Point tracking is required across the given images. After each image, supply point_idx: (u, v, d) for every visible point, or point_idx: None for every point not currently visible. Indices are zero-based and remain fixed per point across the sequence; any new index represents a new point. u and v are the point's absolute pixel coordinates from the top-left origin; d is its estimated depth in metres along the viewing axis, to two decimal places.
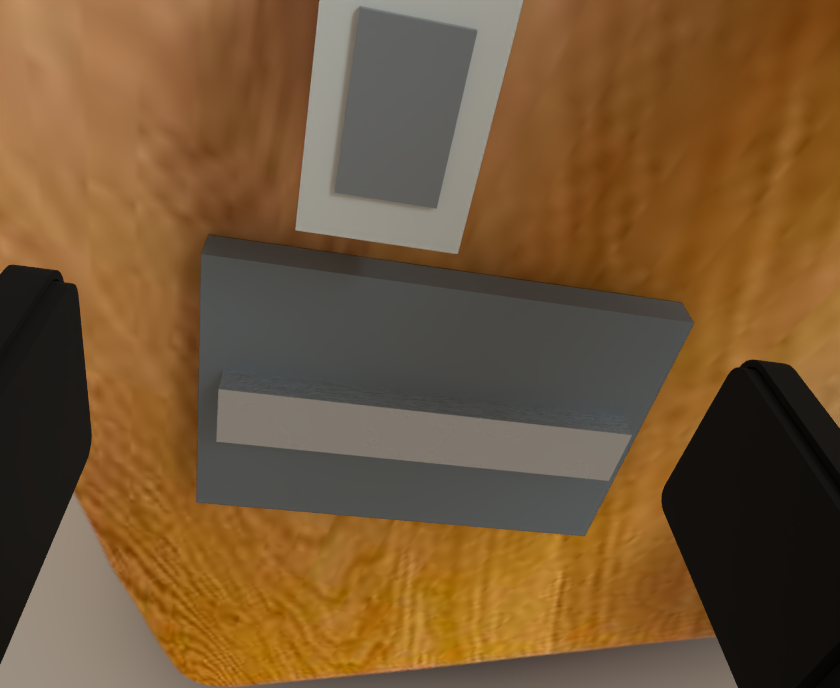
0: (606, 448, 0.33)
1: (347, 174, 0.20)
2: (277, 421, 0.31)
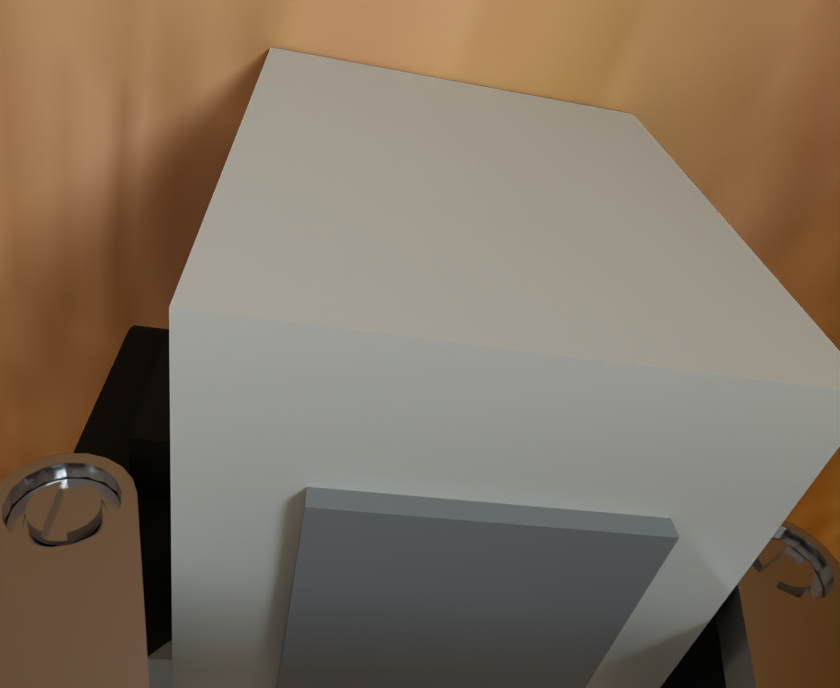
0: None
1: None
2: None
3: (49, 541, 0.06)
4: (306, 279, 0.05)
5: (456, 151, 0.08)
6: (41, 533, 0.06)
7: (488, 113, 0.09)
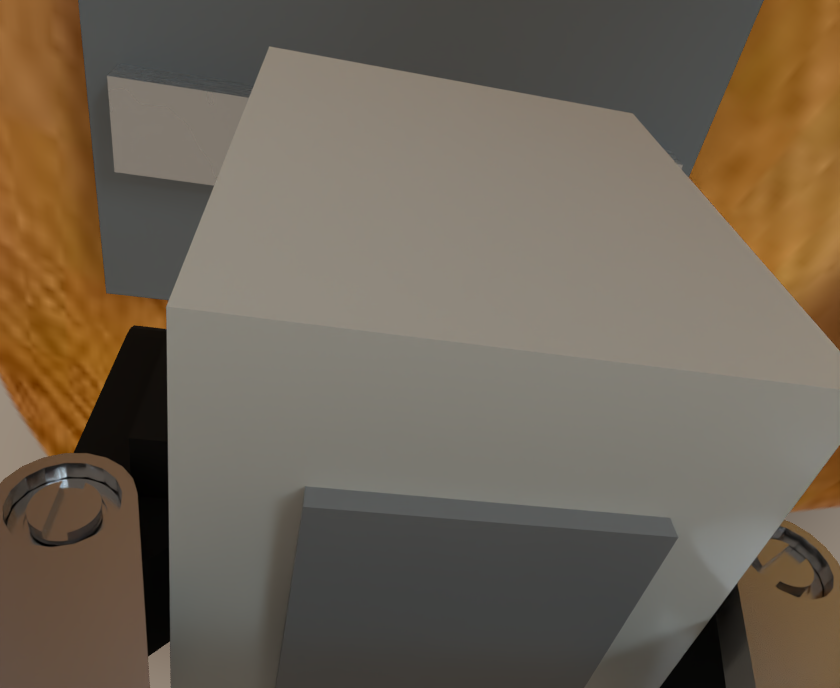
0: None
1: None
2: (195, 136, 0.22)
3: (49, 540, 0.06)
4: (304, 277, 0.05)
5: (455, 151, 0.08)
6: (41, 533, 0.06)
7: (487, 112, 0.09)
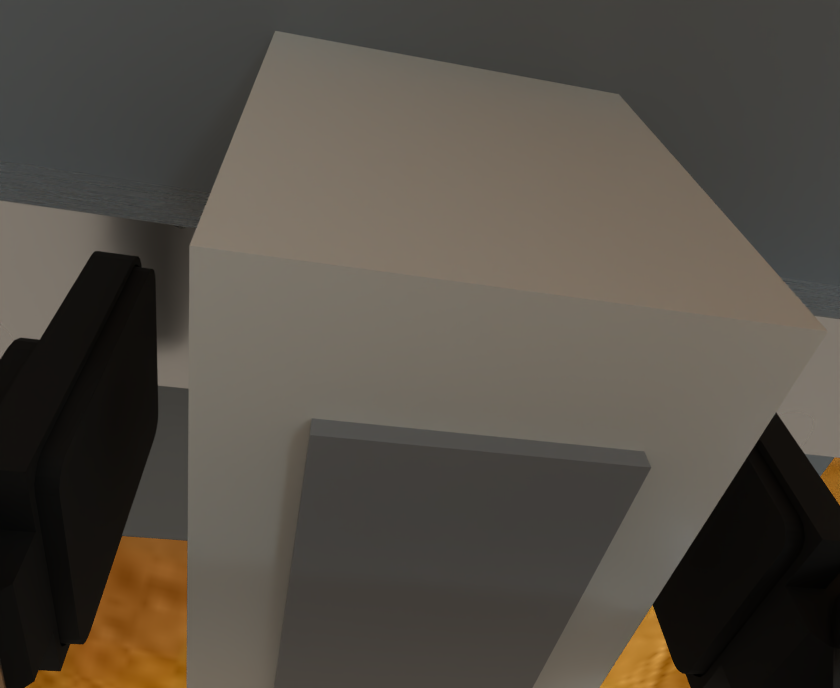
0: None
1: None
2: None
3: None
4: (312, 225, 0.06)
5: (449, 123, 0.08)
6: None
7: (480, 91, 0.09)
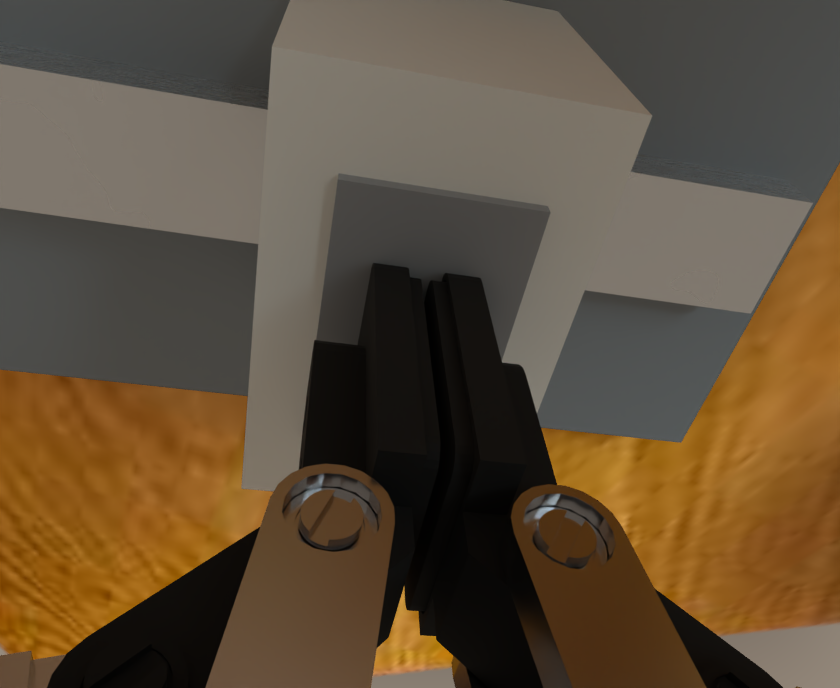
0: (757, 235, 0.16)
1: None
2: (77, 149, 0.14)
3: (310, 541, 0.07)
4: (340, 46, 0.09)
5: (428, 14, 0.12)
6: (308, 532, 0.07)
7: (452, 1, 0.13)
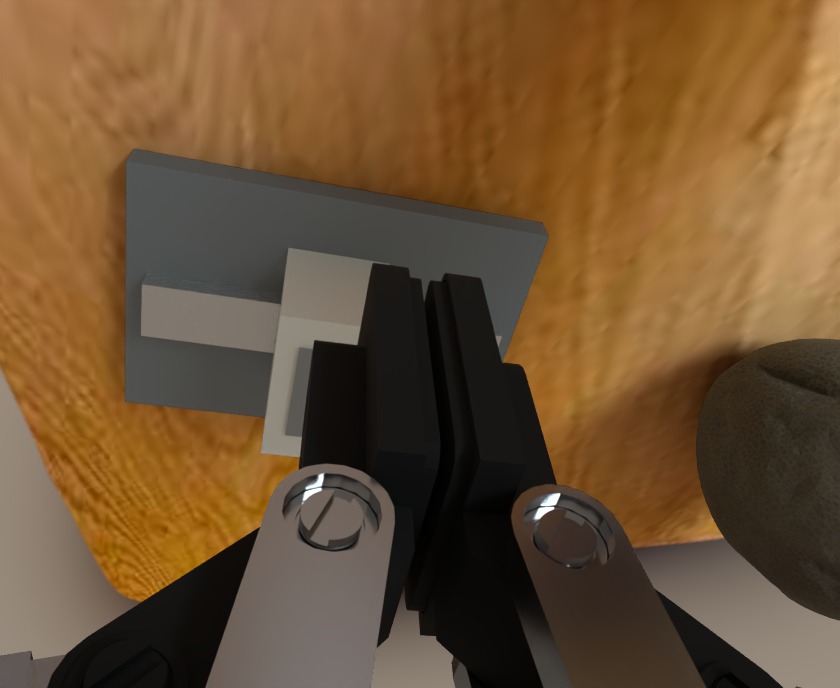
0: None
1: (293, 426, 0.33)
2: (194, 316, 0.35)
3: (310, 541, 0.07)
4: (300, 311, 0.31)
5: (333, 281, 0.33)
6: (308, 532, 0.07)
7: (344, 267, 0.35)
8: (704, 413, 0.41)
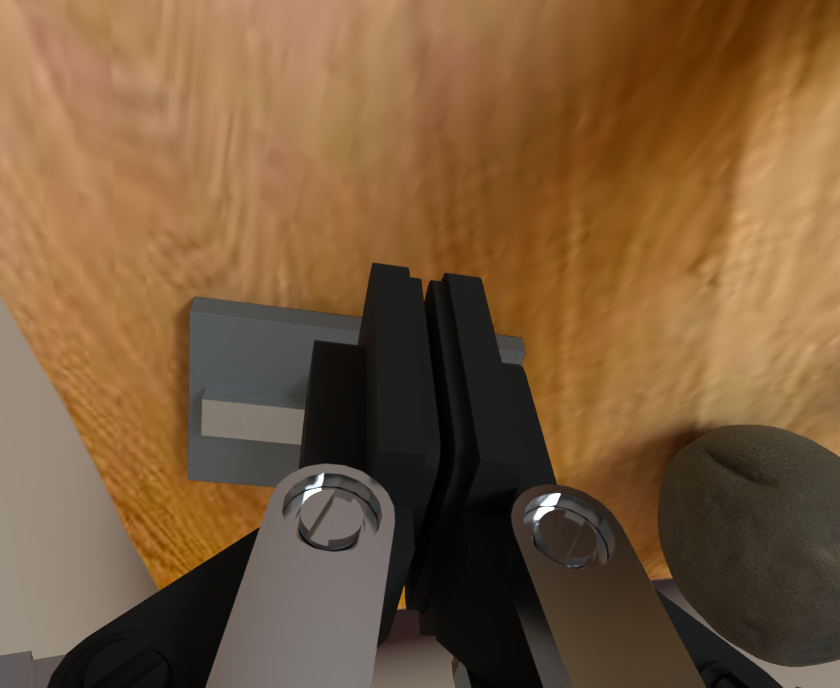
0: None
1: None
2: (243, 421, 0.45)
3: (311, 540, 0.07)
4: None
5: None
6: (308, 532, 0.07)
7: None
8: (663, 485, 0.49)
